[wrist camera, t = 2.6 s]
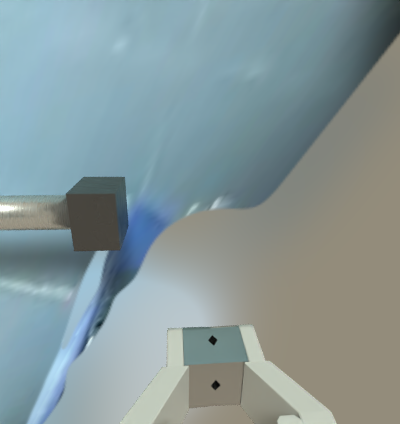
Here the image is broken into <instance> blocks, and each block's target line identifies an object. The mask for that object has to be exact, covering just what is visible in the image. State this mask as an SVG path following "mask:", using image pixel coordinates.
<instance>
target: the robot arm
mask: <svg viewBox="0 0 400 424" xmlns="http://www.w3.org/2000/svg"><path fill="white" fill-rule="evenodd" d="M214 405H215V406H217V405H218V406H220V405H241V407H242V409H243V410H244V411H245V412H246V414H247V415H248V416H249V417H250V419H251V420H252V421H253V423H254V424H337V423H336V421H335V419H334V417H333V415H332V413H331V411H330V410H329V409H327V408H326V407H325V406H324V405H323V404H321V403H320V402H319V401H318V400H317V399H315V398H314V397H313V396H312V395H311V394H309V393H308V392H307V391H306V390H304V389H303V388H302V387H301V386H300V385H298V384H297V383H296V382H295V381H294V380H292V379H291V378H290V377H289V376H288V375H286V374H285V373H284V372H283V371H282V370H280V369H279V368H278V367H277V366H276V365H274V364H273V363H272V362H271V361H266V360H265V357H264V355H263V352H262V349H261V346H260V344H259V341H258V338H257V335H256V332H255V329H254V327H253V325H252V324H249V325H238V326H218V327H190V328H189V327H188V328H183V329H182V328H168V330H167V366H166V367H162V368H161V369H160V371H159V372H158V373H157V375H156V376H155V378H154V379H153V380H152V381H151V383H150V384H149V385H148V387H147V388H146V389H145V390H144V392H143V393H142V394H141V396H140V397H139V399H138V400H137V401H136V402H135V404H134V405H133V406H132V408H131V409H130V410H129V412H128V413H127V414H126V416H125V417H124V418H123V420H122V421H121V422H120V423H119V424H182V423H183V421H184V419H185V417H186V415H187V413H188V411H189V408H197V407H207V406H214Z"/></svg>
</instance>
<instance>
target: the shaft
mask: <svg viewBox="0 0 400 424" xmlns="http://www.w3.org/2000/svg"><path fill="white" fill-rule="evenodd" d="M62 229H71V232H72V239H73V246H74V251H104V250H120V249H121V246H122V243H123V240H124V237H125V234H126V231H127V229H128V213H127V200H126V186H125V177H83V178H82V179H81V180H80V181H79V182H78V183H77V184H76V185H75V186H74V187H73V188H72V189H70V190H69V191H68V192H67V193H66V195H20V196H0V230H62Z"/></svg>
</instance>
